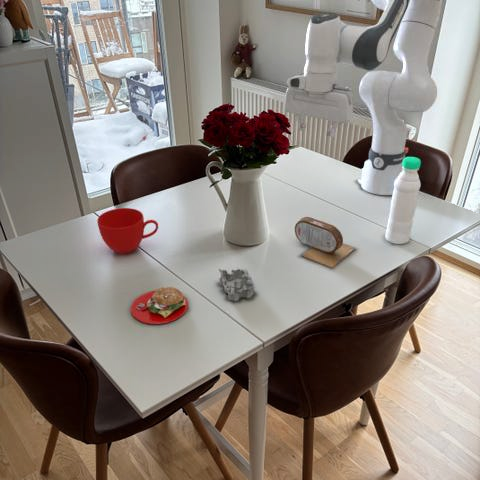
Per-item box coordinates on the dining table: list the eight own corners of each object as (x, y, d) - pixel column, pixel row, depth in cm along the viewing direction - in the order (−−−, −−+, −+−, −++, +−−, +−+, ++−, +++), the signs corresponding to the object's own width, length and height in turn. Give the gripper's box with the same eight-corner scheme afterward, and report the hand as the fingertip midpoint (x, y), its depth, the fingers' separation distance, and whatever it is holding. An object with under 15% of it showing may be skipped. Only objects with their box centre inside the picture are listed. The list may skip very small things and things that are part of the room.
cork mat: (325, 238, 152) (325, 237, 152) (355, 249, 146) (355, 248, 146) (301, 256, 144) (301, 255, 143) (331, 268, 138) (331, 266, 138)
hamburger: (161, 284, 133) (159, 265, 129) (199, 304, 125) (198, 285, 122) (119, 309, 124) (115, 289, 120) (157, 332, 116) (154, 312, 113)
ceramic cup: (159, 258, 144) (155, 227, 138) (99, 260, 143) (93, 229, 137) (162, 236, 154) (158, 206, 149) (106, 238, 154) (101, 208, 148)
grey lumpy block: (218, 280, 134) (217, 267, 132) (245, 276, 136) (244, 263, 133) (228, 303, 125) (227, 289, 123) (256, 298, 127) (256, 284, 125)
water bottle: (407, 234, 154) (422, 154, 139) (411, 245, 148) (428, 163, 134) (383, 233, 154) (396, 153, 140) (386, 244, 148) (401, 163, 134)
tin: (341, 253, 144) (345, 227, 139) (336, 258, 142) (339, 231, 137) (298, 237, 152) (299, 212, 147) (292, 241, 150) (293, 216, 145)
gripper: (360, 85, 132) (354, 137, 139) (295, 74, 142) (293, 123, 150) (348, 89, 128) (342, 143, 136) (282, 79, 138) (281, 129, 146)
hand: (316, 133), depth 143 cm, fingers open, 8 cm apart
